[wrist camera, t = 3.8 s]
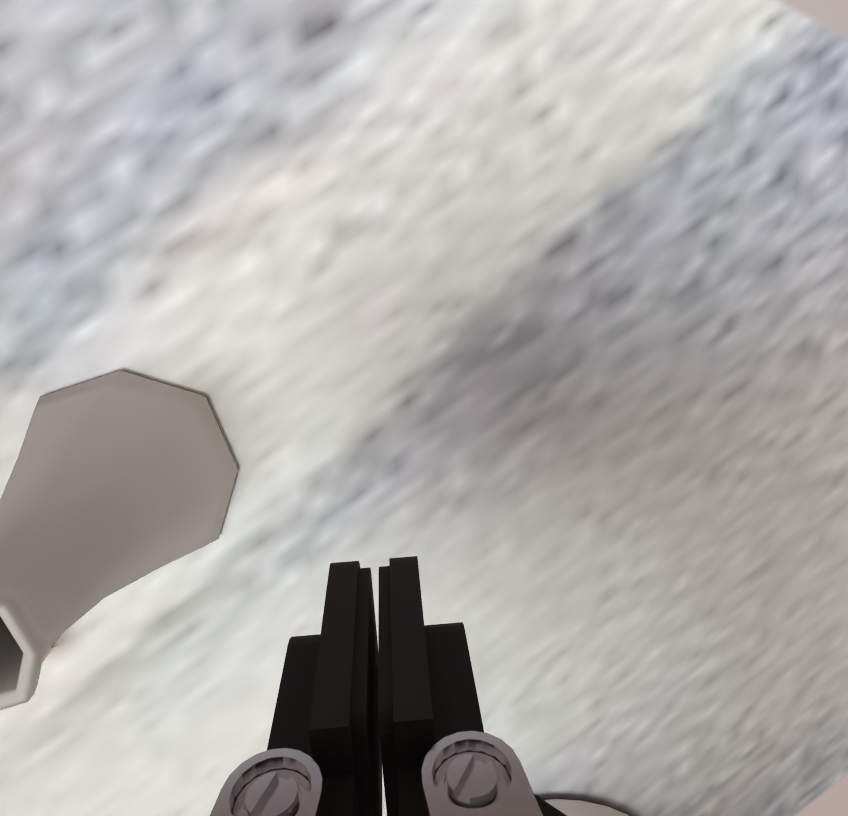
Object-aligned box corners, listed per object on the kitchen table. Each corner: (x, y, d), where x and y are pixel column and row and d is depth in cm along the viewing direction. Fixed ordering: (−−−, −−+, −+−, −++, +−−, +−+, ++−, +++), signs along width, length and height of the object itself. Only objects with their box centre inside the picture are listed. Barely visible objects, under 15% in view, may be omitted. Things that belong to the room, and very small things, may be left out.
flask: (232, 368, 22) (113, 495, 12) (246, 555, 24) (156, 786, 15) (12, 368, 21) (-287, 499, 12) (47, 559, 24) (-181, 799, 14)
